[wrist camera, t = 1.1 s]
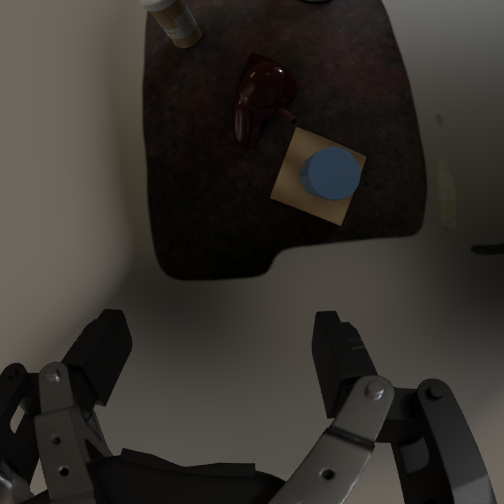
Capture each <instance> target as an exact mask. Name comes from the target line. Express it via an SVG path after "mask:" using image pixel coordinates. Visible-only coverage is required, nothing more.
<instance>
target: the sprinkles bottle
mask: <svg viewBox="0 0 504 504" xmlns="http://www.w3.org/2000/svg"><path fill="white" fill-rule="evenodd" d="M139 1H140V3H141V5H142V6H143V7H144V8H145V9H146V10H147V11H149V12H150V13H151V14H152V15H153V16H154V18H155V19H156V20H157V22H158V23H159V24H160V26H161V27H162V28H163V29H164V31H165V32H166V33H167V35H168V36H169V37H170V38H171V39H172V40H173V43H174V45H176V46H177V47H179V48H188V47H191V46H193V45H195V44H196V43H197V42H198V41H199V40H200V38H201V36H202V34H201V30H200V29H199V28H198V26H197V25H196V22H195V20H194V18H193V16H192V14H191V12H190V10H189V9H188V7H187V5H186V3H185V2H184V1H183V0H139Z"/></svg>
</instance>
